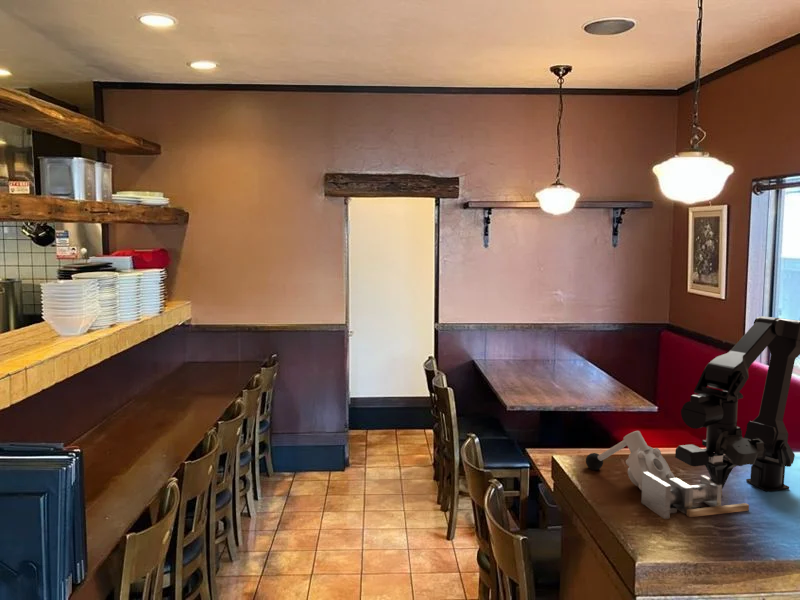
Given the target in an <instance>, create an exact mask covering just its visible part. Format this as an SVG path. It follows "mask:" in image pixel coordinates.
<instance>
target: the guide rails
mask: <svg viewBox="0 0 800 600" xmlns="http://www.w3.org/2000/svg"><path fill="white" fill-rule="evenodd" d="M722 496H723V493H722V494H721V497H722ZM749 510H750V504H748V503H746V502H744V503H735V504H727V505H726V504H725V505H721V506H715V507H711V506H708V507H707V506H706V507H701V508H700V507H698V508H692V509H688V510H687V513H686V516H687V517H689V518H694V517H695V518H696V517H703V516H712V515H720V514H729V513H737V512H738V513H739V512H746V511H747V512H749Z"/></svg>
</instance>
